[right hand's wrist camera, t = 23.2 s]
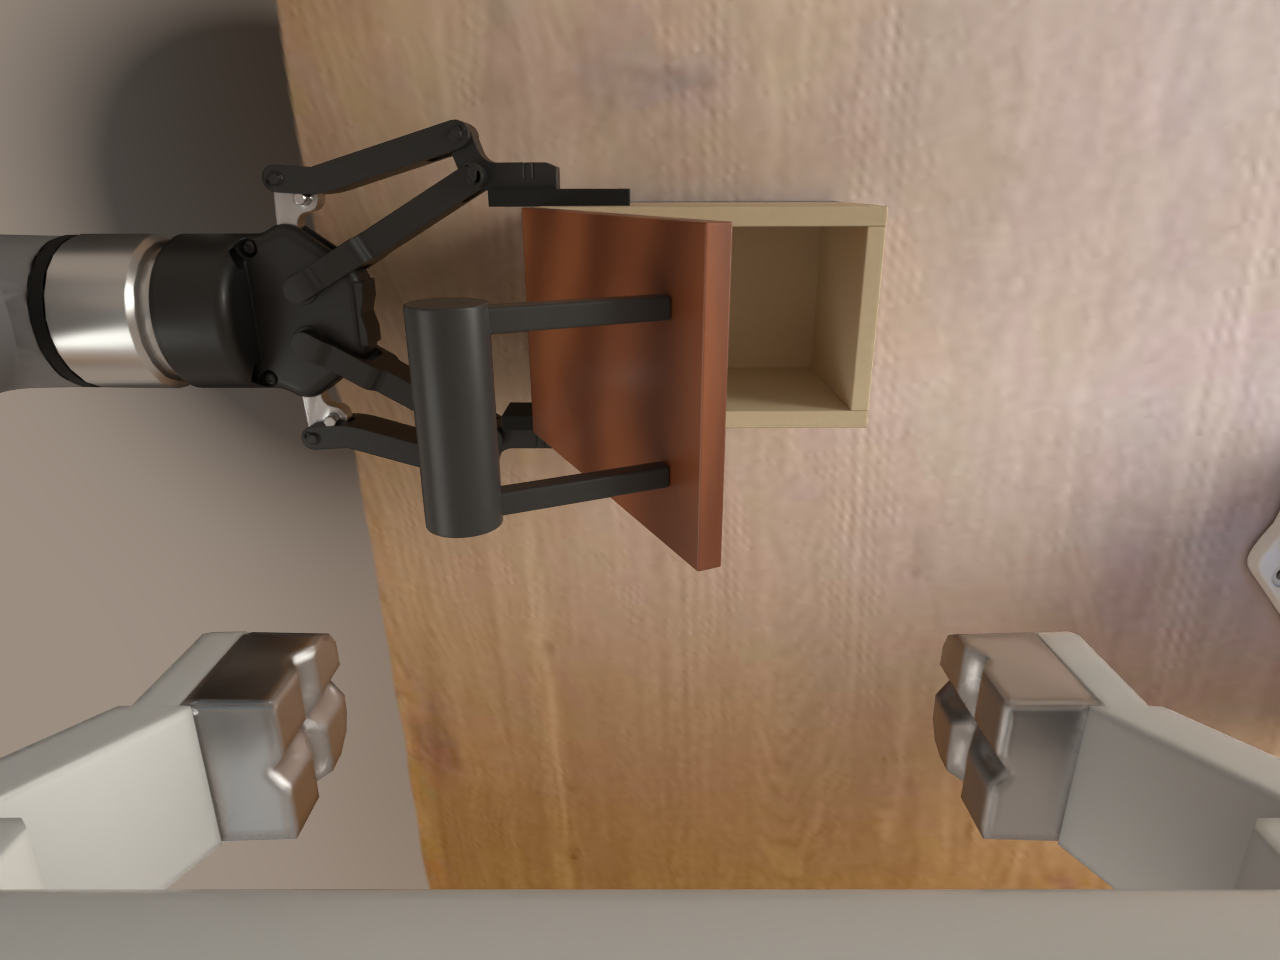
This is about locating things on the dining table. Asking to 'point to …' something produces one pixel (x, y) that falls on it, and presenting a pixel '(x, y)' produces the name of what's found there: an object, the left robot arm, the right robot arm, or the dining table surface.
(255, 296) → the left robot arm
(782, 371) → the chest
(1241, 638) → the dining table surface
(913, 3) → the dining table surface
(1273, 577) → the right robot arm
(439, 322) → the lid
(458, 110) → the dining table surface
